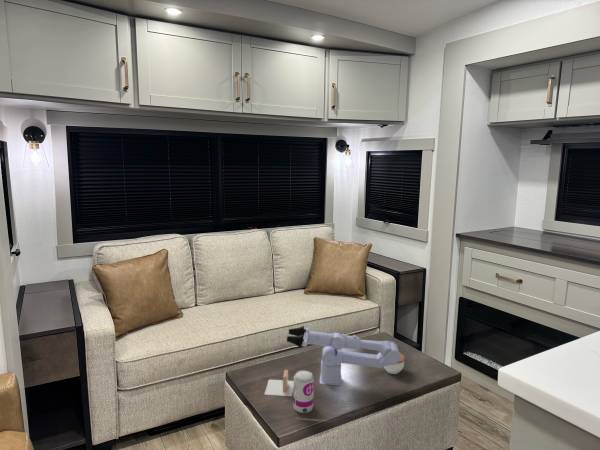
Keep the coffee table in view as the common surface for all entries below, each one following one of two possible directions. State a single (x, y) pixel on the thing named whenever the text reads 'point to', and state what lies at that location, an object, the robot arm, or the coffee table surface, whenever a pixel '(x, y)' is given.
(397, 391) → the coffee table surface
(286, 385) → the tile
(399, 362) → the lidded jar
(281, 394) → the mat
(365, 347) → the robot arm
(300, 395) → the supplement can
